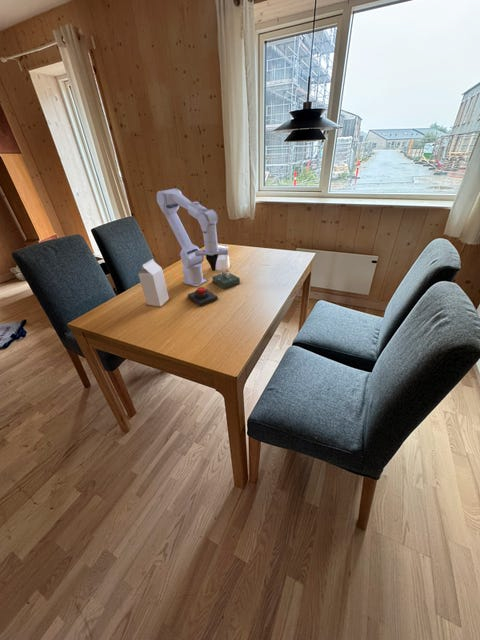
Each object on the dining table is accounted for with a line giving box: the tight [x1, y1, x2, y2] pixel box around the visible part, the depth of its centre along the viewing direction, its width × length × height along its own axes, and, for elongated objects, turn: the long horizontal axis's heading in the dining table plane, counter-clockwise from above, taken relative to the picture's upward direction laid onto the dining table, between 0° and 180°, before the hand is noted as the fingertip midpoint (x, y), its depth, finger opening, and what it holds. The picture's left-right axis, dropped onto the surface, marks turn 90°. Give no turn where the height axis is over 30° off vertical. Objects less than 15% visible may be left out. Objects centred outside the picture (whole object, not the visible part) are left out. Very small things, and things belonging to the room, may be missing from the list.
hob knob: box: [220, 269, 230, 279], centre depth 129 cm, size 5×2×4 cm, turn 37°
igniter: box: [187, 288, 218, 307], centre depth 118 cm, size 11×9×4 cm
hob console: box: [211, 272, 241, 290], centre depth 131 cm, size 11×9×3 cm
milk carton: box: [137, 258, 170, 307], centre depth 114 cm, size 7×7×19 cm
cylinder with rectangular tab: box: [215, 244, 231, 271], centre depth 146 cm, size 9×9×12 cm
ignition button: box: [196, 286, 206, 294], centre depth 117 cm, size 4×4×2 cm
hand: (213, 270), depth 121 cm, fingers closed
